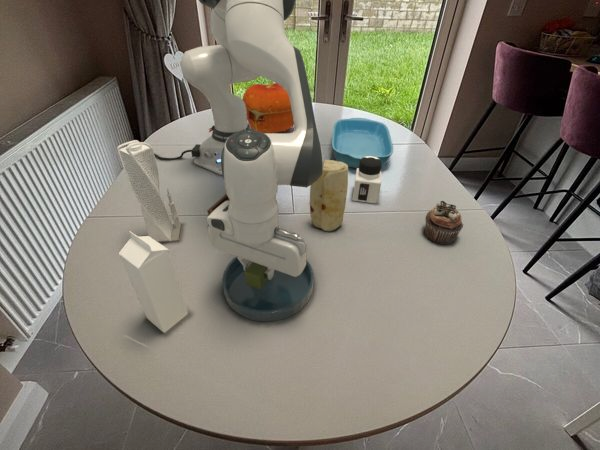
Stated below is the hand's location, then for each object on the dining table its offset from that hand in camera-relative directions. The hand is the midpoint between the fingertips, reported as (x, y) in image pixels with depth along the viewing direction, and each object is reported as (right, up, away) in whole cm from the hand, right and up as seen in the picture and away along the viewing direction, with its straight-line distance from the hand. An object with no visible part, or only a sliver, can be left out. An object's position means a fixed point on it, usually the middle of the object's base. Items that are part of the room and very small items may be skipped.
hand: (258, 273), depth 70 cm
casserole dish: (+32, +39, +62) cm, 80 cm away
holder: (-8, +12, +26) cm, 30 cm away
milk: (-19, -9, 0) cm, 21 cm away
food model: (+16, +10, +25) cm, 31 cm away
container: (+30, +19, +37) cm, 52 cm away
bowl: (+2, -4, +7) cm, 8 cm away
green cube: (0, -2, +1) cm, 2 cm away
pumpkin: (-4, +52, +78) cm, 94 cm away
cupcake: (+48, +7, +23) cm, 53 cm away
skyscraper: (-28, +7, +20) cm, 35 cm away
